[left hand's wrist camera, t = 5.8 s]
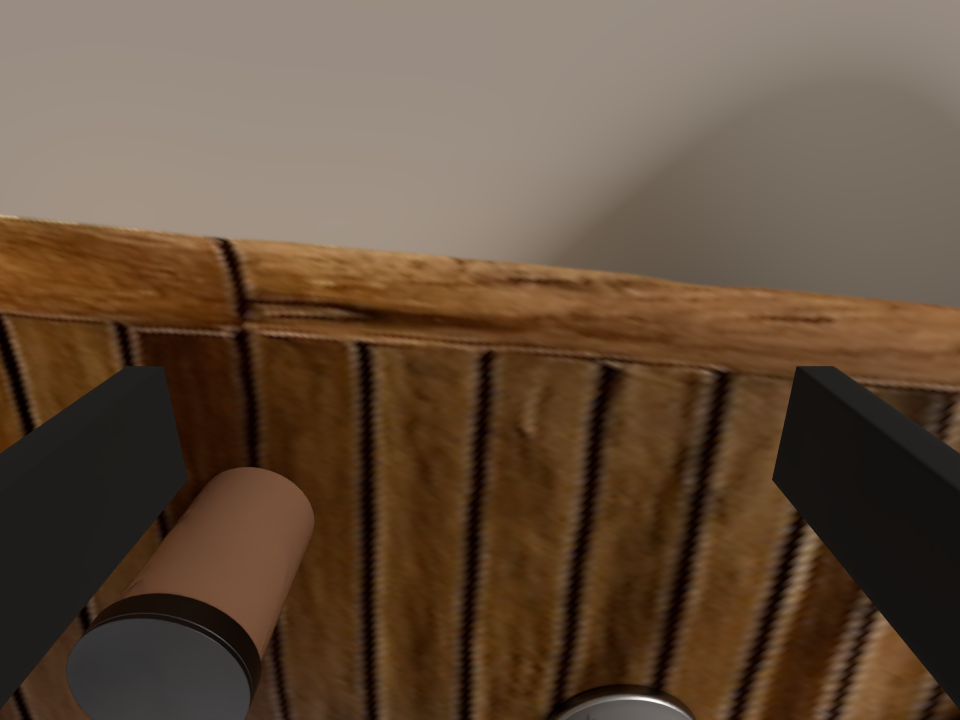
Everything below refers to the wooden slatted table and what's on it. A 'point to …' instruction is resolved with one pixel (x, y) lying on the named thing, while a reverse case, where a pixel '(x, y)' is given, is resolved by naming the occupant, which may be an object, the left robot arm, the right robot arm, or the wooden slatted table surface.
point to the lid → (164, 662)
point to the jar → (235, 549)
